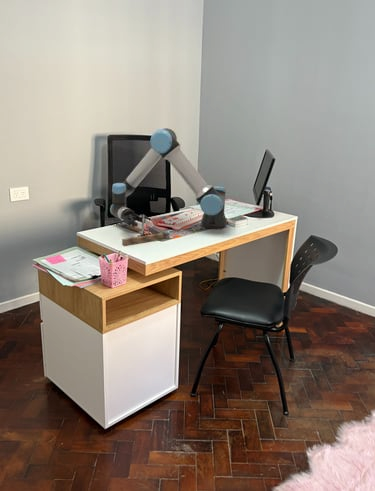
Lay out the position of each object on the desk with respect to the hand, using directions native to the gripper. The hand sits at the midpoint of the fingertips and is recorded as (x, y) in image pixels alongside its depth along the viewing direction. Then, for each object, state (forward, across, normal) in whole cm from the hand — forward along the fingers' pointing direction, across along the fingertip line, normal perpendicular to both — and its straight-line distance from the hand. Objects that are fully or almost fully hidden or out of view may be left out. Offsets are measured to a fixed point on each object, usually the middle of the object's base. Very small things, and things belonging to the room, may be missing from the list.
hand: (146, 225), depth 223 cm
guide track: (-5, +2, -8) cm, 10 cm away
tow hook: (-5, -3, -8) cm, 10 cm away
